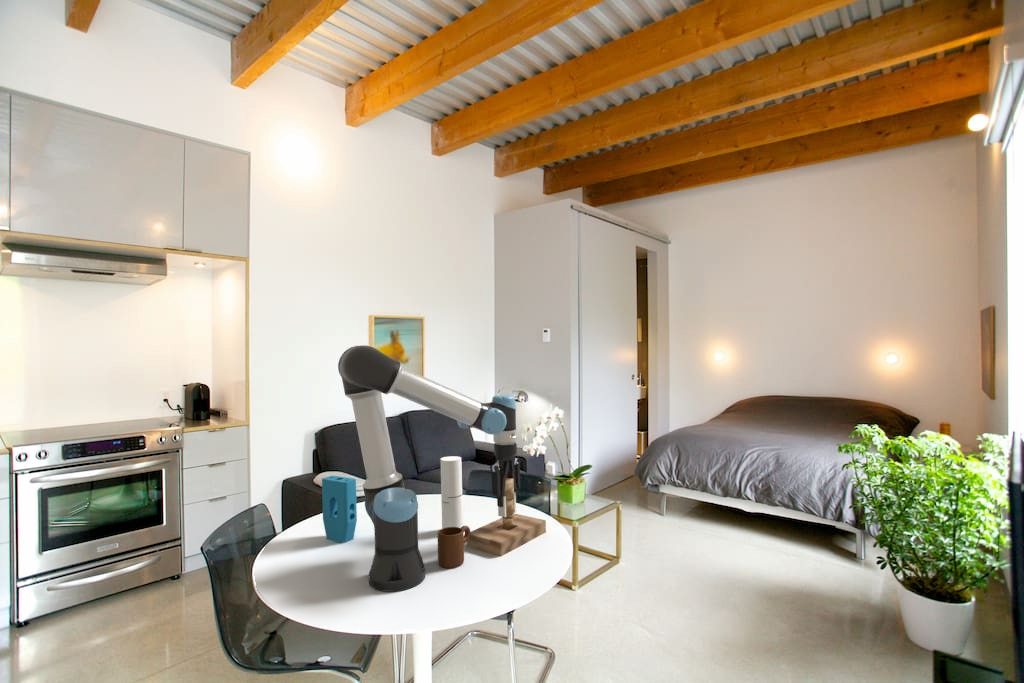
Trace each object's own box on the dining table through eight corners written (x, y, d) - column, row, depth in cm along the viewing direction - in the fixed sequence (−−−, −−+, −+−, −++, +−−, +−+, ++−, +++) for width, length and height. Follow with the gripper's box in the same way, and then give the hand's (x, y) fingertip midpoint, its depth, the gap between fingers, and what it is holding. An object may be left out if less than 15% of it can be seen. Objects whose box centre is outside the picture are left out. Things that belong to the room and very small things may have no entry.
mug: (460, 551, 160) (459, 520, 160) (479, 556, 155) (478, 525, 155) (432, 564, 150) (431, 532, 150) (451, 571, 146) (450, 537, 146)
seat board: (501, 556, 155) (501, 542, 155) (466, 546, 164) (466, 533, 164) (545, 532, 174) (545, 520, 174) (512, 524, 183) (512, 513, 183)
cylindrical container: (461, 535, 173) (460, 460, 174) (440, 535, 174) (438, 461, 174) (464, 527, 181) (462, 456, 181) (443, 528, 181) (442, 456, 181)
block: (321, 538, 174) (320, 478, 174) (333, 533, 178) (332, 475, 178) (346, 544, 168) (345, 482, 168) (358, 539, 172) (357, 479, 172)
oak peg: (509, 531, 166) (507, 481, 166) (498, 529, 168) (496, 479, 169) (517, 527, 169) (516, 478, 169) (506, 524, 172) (505, 476, 172)
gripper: (497, 448, 160) (499, 523, 160) (530, 439, 174) (532, 508, 174) (478, 446, 164) (481, 519, 164) (512, 437, 178) (514, 505, 178)
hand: (507, 513), depth 169 cm, fingers closed on oak peg, 4 cm apart
